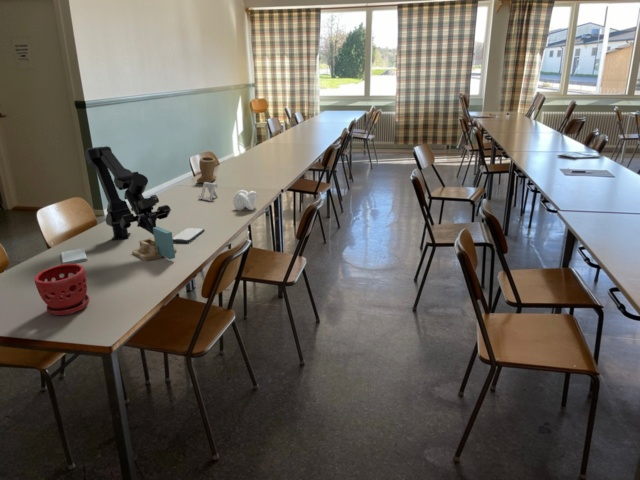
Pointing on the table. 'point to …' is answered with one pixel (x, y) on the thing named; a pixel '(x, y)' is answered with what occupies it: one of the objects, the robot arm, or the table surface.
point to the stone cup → (206, 169)
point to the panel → (164, 242)
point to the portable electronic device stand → (211, 190)
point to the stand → (148, 250)
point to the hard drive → (73, 256)
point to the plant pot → (63, 289)
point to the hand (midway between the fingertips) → (156, 234)
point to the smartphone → (188, 235)
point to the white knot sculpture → (244, 199)
